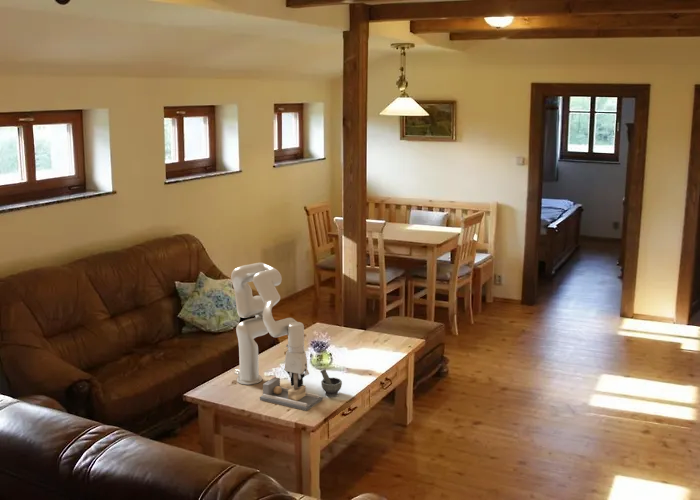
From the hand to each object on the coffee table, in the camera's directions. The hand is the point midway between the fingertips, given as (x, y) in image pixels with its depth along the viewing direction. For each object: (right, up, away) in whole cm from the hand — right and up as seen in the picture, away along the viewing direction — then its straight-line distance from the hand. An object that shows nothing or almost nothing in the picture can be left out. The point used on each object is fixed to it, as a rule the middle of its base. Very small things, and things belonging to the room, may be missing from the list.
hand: (296, 385), depth 371 cm
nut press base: (-3, -8, +3) cm, 9 cm away
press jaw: (0, -6, +1) cm, 7 cm away
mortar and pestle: (+16, -6, +10) cm, 20 cm away
